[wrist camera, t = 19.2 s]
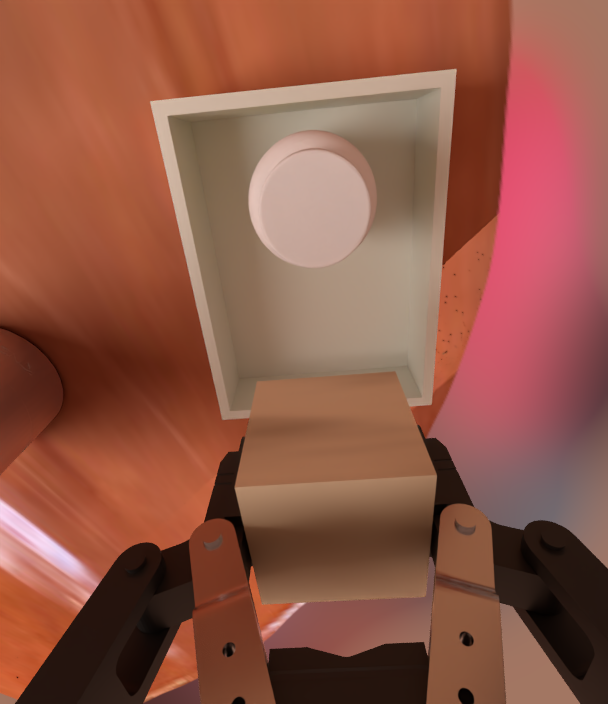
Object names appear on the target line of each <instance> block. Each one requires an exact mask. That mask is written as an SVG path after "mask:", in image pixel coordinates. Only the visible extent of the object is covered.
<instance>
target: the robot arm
mask: <svg viewBox="0 0 608 704" xmlns="http://www.w3.org/2000/svg"><path fill="white" fill-rule="evenodd" d="M62 402H63V388H62V384H61V380H60V377H59V375H58V373H57V371H56V369H55V368H54V366H53V365H52V364H51V362H50V361H49V360H48V358H47V357H46V356H45V355H44V354H43V353H42V352H41V351H40V350H39V349H38V348H37V347H35V346H34V345H32V344H31V343H30V342H28V341H27V340H25V339H24V338H22V337H20V336H18V335H16V334H14V333H12V332H10V331H7V330H4V329H1V328H0V475H1V474H2V473H3V472H4V471H5V470H6V468H7V467H8V466H9V465H10V464H11V463H12V462H13V461H14V460H15V459H16V458H17V457H18V456H19V455H20V454H21V453H22V452H23V451H24V450H25V449H26V448H27V447H28V446H29V444H30V443H31V442H32V441H33V440H34V439H35V438H36V437H37V436H38V435H39V434H40V433H41V432H42V431H43V430H44V429H45V427H46V426H47V425H48V424H49V423H50V422H51V421H52V420H53V419H54V418H55V417H56V415H57V414H58V412H59V411H60V409H61V406H62ZM417 427H418V429H419V432H420V434H421V437H422V439H423V442H424V444H425V446H426V449H427V451H428V454H429V456H430V459H431V461H432V464H433V466H434V469H435V471H436V474H437V480H436V491H435V501H434V512H433V523H432V533H431V544H430V555H429V557H432V558H433V561H434V565H435V576H434V590H433V601H432V613H431V626H430V639H429V650H428V655H427V653H426V649H425V645H424V642H416V643H395V644H394V643H393V644H384V645H381V646H378V647H375V648H373V649H370V650H367V651H365V652H362V653H359V654H357V655H353V656H351V657H342V656H338V655H334V654H331V653H327V652H323V651H319V650H315V649H311V648H308V647H304V648H283V649H270V654H269V662H268V660H267V656H266V652H265V648H264V644H263V639H262V635H261V631H260V627H259V623H258V619H257V614H256V610H255V606H254V602H253V598H252V594H251V589H250V585H249V577H250V570H251V566H253V563H252V559H251V555H250V551H249V546H248V542H247V538H246V534H245V530H244V525H243V521H242V517H241V513H240V508H239V504H238V500H237V496H236V491H235V483H236V478H237V474H238V469H239V464H240V459H241V455H242V450H243V445H244V441H245V437H242V439H241V444H240V448H239V451H236V452H228V454H227V455H226V456H225V457H224V459H223V460H222V461H221V462H220V466H219V469H218V473H217V477H216V480H215V486H214V488H213V491H212V495H211V499H210V502H209V506H208V510H207V513H206V517H205V521H204V523H202V524H201V525H200V526H198V527H197V528H196V529H195V531H194V532H193V533H192V535H191V537H190V539H189V540H187V541H186V542H184V543H181V544H179V545H176V546H173V547H170V548H168V549H165V550H162V551H160V549H159V547H158V546H157V545H155V544H153V543H147V542H146V543H140V544H136V545H134V546H132V547H130V548H128V549H127V550H126V551H124V552H123V553H122V554H121V555H120V556H119V557H118V558H117V560H116V561H115V562H114V564H113V565H112V567H111V568H110V569H109V571H108V572H107V574H106V575H105V577H104V578H103V579H102V581H101V582H100V584H99V585H98V586H97V588H96V589H95V591H94V592H93V594H92V595H91V596H90V598H89V599H88V601H87V602H86V604H85V605H84V606H83V608H82V609H81V611H80V612H79V613H78V615H77V616H76V618H75V619H74V621H73V622H72V623H71V625H70V626H69V628H68V629H67V631H66V632H65V633H64V635H63V636H62V638H61V639H60V640H59V642H58V643H57V645H56V646H55V648H54V649H53V650H52V652H51V653H50V655H49V656H48V658H47V659H46V660H45V662H44V663H43V665H42V666H41V667H40V669H39V670H38V672H37V673H36V675H35V676H34V677H33V679H32V680H31V682H30V683H29V685H28V686H27V687H26V689H25V690H24V692H23V693H22V694H21V696H20V697H19V699H18V700H17V702H16V703H15V704H143V702H144V700H145V698H146V696H147V694H148V692H149V689H150V687H151V685H152V683H153V681H154V679H155V677H156V675H157V673H158V671H159V669H160V666H161V664H162V662H163V660H164V658H165V656H166V654H167V652H168V650H169V648H170V646H171V643H172V641H173V639H174V637H175V635H176V633H177V631H178V629H179V627H180V625H181V622H184V621H186V620H189V619H191V618H193V628H194V639H195V649H196V659H197V670H198V680H199V690H200V701H201V704H506V693H505V676H504V661H503V646H502V629H501V614H500V603H503V604H506V605H510V606H513V607H514V609H515V610H516V612H517V613H518V614H519V616H520V618H521V619H522V620H523V622H524V623H525V625H526V626H527V627H528V629H529V630H530V632H531V633H532V635H533V636H534V638H535V639H536V640H537V642H538V643H539V645H540V646H541V648H542V649H543V651H544V652H545V653H546V655H547V656H548V658H549V659H550V661H551V662H552V664H553V665H554V666H555V668H556V669H557V671H558V672H559V674H560V675H561V676H562V678H563V679H564V681H565V682H566V684H567V685H568V686H569V688H570V689H571V691H572V692H573V693H574V695H575V696H576V698H577V699H578V701H579V702H580V704H608V569H607V568H606V567H605V566H604V565H603V563H601V561H600V560H599V559H597V558H596V556H595V555H594V554H592V552H591V551H590V550H589V549H588V548H587V547H586V546H585V545H584V544H583V543H582V542H581V541H580V540H579V539H578V538H577V537H576V536H575V535H573V534H572V533H571V532H570V531H569V530H567V529H566V528H564V527H563V526H560V525H558V524H556V523H553V522H550V521H543V520H541V521H533V522H531V523H529V524H528V525H527V526H526V527H525V529H524V530H520V529H515V528H511V527H506V526H502V525H499V524H496V523H493V522H491V521H489V520H488V518H487V517H486V516H485V515H484V514H483V513H482V512H481V511H480V510H478V509H476V508H475V507H474V506H473V504H472V501H471V500H470V497H469V495H468V493H467V491H466V489H465V487H464V485H463V482H462V480H461V478H460V476H459V474H458V472H457V470H456V467H455V466H454V463H453V461H452V459H451V457H450V455H449V452H448V450H447V448H446V447H445V446H444V445H443V444H442V443H441V442H440V441H438V440H437V439H436V438H429V439H425V437H424V435H423V432H422V430H421V427H420V426H419V425H417Z"/></svg>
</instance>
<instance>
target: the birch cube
mask: <svg viewBox="0 0 608 704" xmlns="http://www.w3.org/2000/svg"><path fill="white" fill-rule="evenodd" d="M436 480H437V474H436V471H435V469H434V466H433V464H432V461H431V459H430V456H429V454H428V451H427V449H426V446H425V444H424V442H423V439H422V437H421V434H420V432H419V429H418V427H417V424H416V422H415V419H414V417H413V414H412V412H411V409H410V407H409V404H408V402H407V399H406V397H405V394H404V392H403V389H402V387H401V384H400V382H399V379H398V377H397V374H396V372H395V371H393V372H379V373H365V374H352V375H338V376H325V377H311V378H297V379H284V380H270V381H257V384H256V388H255V393H254V398H253V403H252V407H251V412H250V417H249V422H248V426H247V431H246V436H245V441H244V445H243V450H242V455H241V459H240V464H239V469H238V474H237V478H236V483H235V491H236V496H237V500H238V504H239V508H240V513H241V517H242V521H243V525H244V530H245V534H246V538H247V542H248V546H249V551H250V555H251V559H252V563H253V568H254V572H255V576H256V580H257V585H258V589H259V593H260V597H261V602H262V604H282V603H303V602H324V601H344V600H365V599H386V598H407V597H408V598H409V597H425V596H426V587H427V576H428V565H429V555H430V544H431V533H432V523H433V512H434V501H435V491H436Z"/></svg>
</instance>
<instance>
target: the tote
mask: <svg viewBox="0 0 608 704" xmlns="http://www.w3.org/2000/svg"><path fill="white" fill-rule="evenodd" d="M456 71H457V69H450V70H441V71H431V72H422V73H412V74H403V75H393V76H384V77H375V78H365V79H356V80H346V81H337V82H327V83H318V84H309V85H299V86H290V87H280V88H271V89H261V90H252V91H242V92H233V93H224V94H214V95H205V96H195V97H186V98H176V99H167V100H158V101H150V103H151V107H152V112H153V116H154V120H155V125H156V129H157V134H158V138H159V143H160V147H161V151H162V156H163V160H164V165H165V169H166V173H167V178H168V182H169V187H170V191H171V195H172V200H173V204H174V209H175V213H176V217H177V222H178V226H179V231H180V235H181V240H182V244H183V248H184V253H185V257H186V262H187V266H188V270H189V275H190V279H191V284H192V288H193V292H194V297H195V301H196V306H197V310H198V315H199V319H200V323H201V328H202V332H203V337H204V341H205V345H206V350H207V354H208V359H209V363H210V367H211V372H212V376H213V381H214V385H215V389H216V394H217V398H218V403H219V407H220V412H221V416H222V420H228V419H242V418H249V417H250V412H251V407H252V403H253V398H254V393H255V388H256V384H257V381H270V380H284V379H297V378H311V377H325V376H338V375H352V374H365V373H379V372H393V371H395V372H396V374H397V377H398V379H399V382H400V384H401V387H402V389H403V392H404V394H405V397H406V399H407V402H408V404H409V406H423V405H432V394H433V380H434V367H435V353H436V340H437V326H438V313H439V300H440V286H441V273H442V259H443V246H444V232H445V219H446V205H447V192H448V178H449V165H450V152H451V138H452V125H453V111H454V98H455V84H456ZM306 130H320V131H327V132H330V133H333V134H336V135H338V136H340V137H342V138H344V139H346V140H347V141H349V142H350V143H351V144H353V145H354V146H355V147H356V148H357V149H358V150H359V151H360V152H361V154H362V155H363V156H364V158H365V159H366V161H367V162H368V164H369V166H370V168H371V171H372V173H373V176H374V179H375V184H376V190H377V206H376V213H375V217H374V221H373V223H372V226H371V228H370V230H369V232H368V234H367V236H366V237H365V239H364V240H363V242H362V243H361V244H360V245H359V246H358V247H357V248H356V249H355V250H354V251H353V252H352V253H351V254H350V255H349V256H348V257H346V258H345V259H344V260H342V261H340V262H338V263H336V264H334V265H331V266H328V267H323V268H306V267H300V266H296V265H292V264H290V263H288V262H285V261H283V260H282V259H280V258H278V257H277V256H276V255H274V254H273V253H272V252H271V251H270V250H269V249H268V248H267V247H266V246H265V245H264V244H263V242H262V241H261V240H260V238H259V236H258V235H257V233H256V231H255V228H254V226H253V223H252V220H251V217H250V212H249V188H250V182H251V179H252V176H253V173H254V171H255V168H256V166H257V165H258V163H259V161H260V160H261V158H262V157H263V155H264V154H265V153H266V152H267V151H268V150H269V149H270V148H271V147H272V146H273V145H274V144H275V143H277V142H278V141H279V140H281V139H283V138H284V137H286V136H288V135H290V134H293V133H296V132H300V131H306Z"/></svg>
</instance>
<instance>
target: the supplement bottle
mask: <svg viewBox="0 0 608 704" xmlns="http://www.w3.org/2000/svg"><path fill="white" fill-rule="evenodd" d="M376 206H377V190H376V184H375V179H374V176H373V173H372V171H371V168H370V166H369V164H368V162H367V161H366V159H365V158H364V156H363V155H362V154H361V152H360V151H359V150H358V149H357V148H356V147H355V146H354V145H353V144H351V143H350V142H349V141H347V140H346V139H344V138H342V137H340V136H338V135H336V134H333V133H330V132H327V131H320V130H306V131H300V132H296V133H293V134H290V135H288V136H286V137H284V138H283V139H281V140H279V141H278V142H277V143H275V144H274V145H273V146H272V147H271V148H270V149H269V150H268V151H267V152H266V153H265V154H264V155H263V157H262V158H261V160H260V161H259V163H258V165H257V166H256V168H255V171H254V173H253V176H252V179H251V182H250V188H249V212H250V217H251V220H252V223H253V226H254V228H255V231H256V233H257V235H258V236H259V238H260V240H261V241H262V242H263V244H264V245H265V246H266V247H267V248H268V249H269V250H270V251H271V252H272V253H273V254H274V255H276V256H277V257H278V258H280V259H282V260H283V261H285V262H288V263H290V264H292V265H296V266H300V267H306V268H323V267H328V266H331V265H334V264H336V263H338V262H340V261H342V260H344V259H345V258H346V257H348V256H349V255H350V254H351V253H352V252H353V251H354V250H355V249H356V248H357V247H358V246H359V245H360V244H361V243H362V242H363V240H364V239H365V237H366V236H367V234H368V232H369V230H370V228H371V226H372V223H373V221H374V217H375V213H376Z"/></svg>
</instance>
